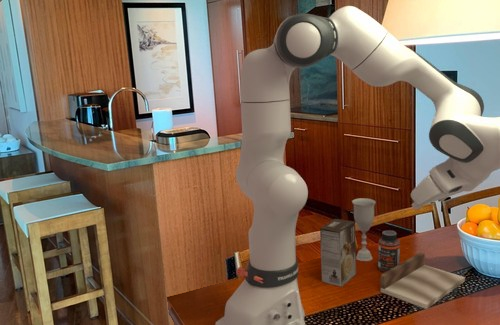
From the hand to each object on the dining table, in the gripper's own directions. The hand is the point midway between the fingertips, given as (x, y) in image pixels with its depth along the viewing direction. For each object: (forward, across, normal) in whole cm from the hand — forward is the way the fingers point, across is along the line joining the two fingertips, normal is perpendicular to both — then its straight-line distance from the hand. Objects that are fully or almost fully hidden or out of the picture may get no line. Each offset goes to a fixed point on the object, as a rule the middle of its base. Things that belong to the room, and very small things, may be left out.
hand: (427, 202), depth 123 cm
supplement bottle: (+26, -1, +7) cm, 27 cm away
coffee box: (+30, +14, +4) cm, 33 cm away
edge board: (+17, 0, +16) cm, 24 cm away
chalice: (+34, -2, 0) cm, 34 cm away
